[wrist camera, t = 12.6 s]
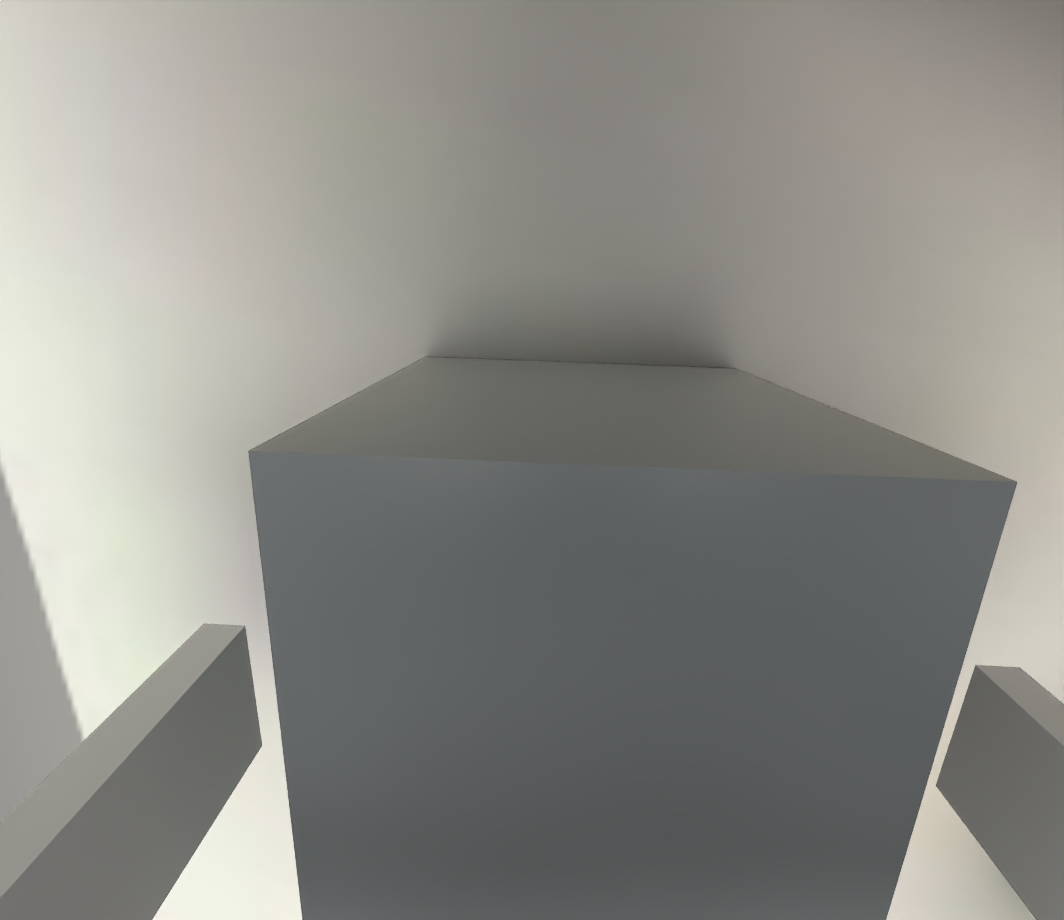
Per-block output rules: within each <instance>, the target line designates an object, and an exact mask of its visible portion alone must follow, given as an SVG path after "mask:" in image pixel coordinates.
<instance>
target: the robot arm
mask: <svg viewBox="0 0 1064 920" xmlns="http://www.w3.org/2000/svg"><path fill="white" fill-rule="evenodd" d="M261 746H262V741H261V734H260V727H259V720H258V713H257V706H256V699H255V692H254V685H253V678H252V671H251V664H250V657H249V650H248V643H247V636H246V629H245V626H238V625H220V624H203V625H202V626H201V627H200V628H199V629H198V630H197V631H196V632H195V633H194V634H193V635H192V636H191V637H190V638H189V639H188V640H187V641H186V642H185V643H184V644H183V645H182V646H181V647H180V648H178V649H177V650H176V651H175V652H174V653H173V654H172V655H171V656H170V657H169V658H168V659H167V660H166V661H165V662H164V663H163V664H162V665H161V666H160V667H159V668H158V669H157V670H156V671H155V672H154V673H153V674H152V675H151V676H150V677H149V678H148V679H147V680H146V681H145V682H144V683H143V684H142V685H141V686H140V687H139V688H138V689H136V690H135V691H134V692H133V693H132V694H131V695H130V696H129V697H128V698H127V699H126V700H125V701H124V702H123V703H122V704H121V705H120V706H119V707H118V708H117V709H116V710H115V711H114V712H113V713H112V714H111V715H110V716H109V717H108V718H107V719H106V720H105V721H104V722H103V723H102V724H101V725H100V726H99V727H98V728H97V729H95V730H94V731H93V732H92V733H91V734H90V735H89V736H88V737H87V738H86V739H85V740H84V741H83V742H82V743H81V744H80V745H79V746H78V747H77V748H76V749H75V750H74V751H73V752H72V753H71V754H70V755H69V756H68V757H67V758H66V759H65V760H64V761H63V762H62V763H61V764H60V765H59V766H58V767H57V768H56V769H55V770H53V771H52V772H51V773H50V774H49V776H47V777H46V778H45V779H44V780H43V781H42V782H41V783H40V784H39V785H38V786H37V787H36V788H35V789H34V790H33V791H32V792H31V793H30V794H29V795H28V796H27V797H26V798H25V799H24V800H23V801H22V802H21V803H20V804H19V805H18V806H17V807H16V808H15V809H13V811H11V812H10V813H9V814H8V815H7V816H6V817H5V818H4V819H3V820H2V821H1V822H0V920H152V919H153V917H154V916H155V914H156V913H157V911H158V909H159V908H160V906H161V905H162V903H163V902H164V900H165V898H166V897H167V895H168V894H169V892H170V890H171V889H172V887H173V886H174V884H175V883H176V881H177V879H178V878H179V876H180V875H181V873H182V871H183V870H184V868H185V867H186V865H187V864H188V862H189V860H190V859H191V857H192V856H193V854H194V852H195V851H196V849H197V848H198V846H199V845H200V843H201V841H202V840H203V838H204V837H205V835H206V833H207V832H208V830H209V829H210V827H211V826H212V824H213V822H214V821H215V819H216V818H217V816H218V814H219V813H220V811H221V810H222V808H223V807H224V805H225V803H226V802H227V800H228V799H229V797H230V795H231V794H232V792H233V791H234V789H235V788H236V786H237V784H238V783H239V781H240V780H241V778H242V776H243V775H244V773H245V772H246V770H247V769H248V767H249V765H250V764H251V762H252V761H253V759H254V757H255V756H256V754H257V753H258V751H259V750H260V748H261ZM936 787H937V788H938V789H939V791H940V792H941V793H942V795H943V796H944V797H945V799H946V800H947V801H948V803H949V804H950V805H951V807H952V808H953V809H954V811H955V812H956V813H957V815H958V816H959V817H960V818H961V820H962V821H963V822H964V824H965V825H966V826H967V828H968V829H969V830H970V832H971V833H972V834H973V836H974V837H975V838H976V840H977V841H978V842H979V844H980V845H981V846H982V848H983V849H984V850H985V852H986V853H987V854H988V856H989V857H990V858H991V860H992V861H993V862H994V864H995V865H996V866H997V868H998V869H999V870H1000V872H1001V873H1002V874H1003V876H1004V877H1005V878H1006V880H1007V881H1008V882H1009V884H1010V885H1011V886H1012V888H1013V889H1014V890H1015V892H1016V893H1017V894H1018V896H1019V897H1020V898H1021V900H1022V901H1023V902H1024V904H1025V905H1026V906H1027V908H1028V909H1029V910H1030V912H1031V913H1032V914H1033V916H1034V917H1035V918H1036V920H1064V704H1063V703H1062V702H1061V701H1059V700H1058V699H1057V698H1056V697H1055V696H1053V695H1052V694H1051V693H1050V692H1049V691H1047V690H1046V689H1045V688H1044V687H1043V686H1041V685H1040V684H1039V683H1038V682H1037V681H1035V680H1034V679H1033V678H1032V677H1031V676H1029V675H1028V674H1027V673H1026V672H1025V671H1023V670H1022V669H1021V668H1020V667H1002V666H983V665H975V668H974V671H973V674H972V677H971V680H970V683H969V686H968V689H967V692H966V695H965V699H964V702H963V705H962V708H961V711H960V714H959V717H958V720H957V723H956V726H955V729H954V732H953V735H952V738H951V741H950V744H949V747H948V750H947V753H946V756H945V759H944V762H943V765H942V768H941V771H940V774H939V777H938V780H937V784H936Z"/></svg>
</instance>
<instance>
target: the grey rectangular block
mask: <svg viewBox="0 0 1064 920" xmlns="http://www.w3.org/2000/svg"><path fill="white" fill-rule="evenodd" d="M248 452H249V460H250V469H251V478H252V486H253V495H254V504H255V512H256V521H257V530H258V538H259V547H260V556H261V564H262V573H263V582H264V590H265V599H266V608H267V616H268V625H269V633H270V642H271V651H272V659H273V668H274V677H275V685H276V694H277V703H278V711H279V720H280V729H281V737H282V746H283V755H284V763H285V772H286V781H287V789H288V798H289V807H290V815H291V824H292V833H293V841H294V850H295V858H296V867H297V876H298V884H299V893H300V902H301V910H302V919H303V920H886V918H887V915H888V911H889V908H890V905H891V901H892V898H893V895H894V891H895V888H896V885H897V881H898V878H899V875H900V871H901V868H902V865H903V861H904V858H905V855H906V851H907V848H908V845H909V841H910V838H911V835H912V831H913V828H914V825H915V821H916V818H917V815H918V811H919V808H920V805H921V801H922V798H923V795H924V791H925V788H926V785H927V781H928V778H929V775H930V771H931V768H932V764H933V761H934V758H935V754H936V751H937V748H938V744H939V741H940V738H941V734H942V731H943V728H944V724H945V721H946V718H947V714H948V711H949V708H950V704H951V701H952V698H953V694H954V691H955V688H956V684H957V681H958V678H959V674H960V671H961V668H962V664H963V661H964V658H965V654H966V651H967V648H968V644H969V641H970V638H971V634H972V631H973V628H974V624H975V621H976V618H977V614H978V611H979V608H980V604H981V601H982V598H983V594H984V591H985V588H986V584H987V581H988V578H989V574H990V571H991V568H992V564H993V561H994V558H995V554H996V551H997V548H998V544H999V541H1000V538H1001V534H1002V531H1003V528H1004V524H1005V521H1006V518H1007V514H1008V511H1009V508H1010V504H1011V501H1012V498H1013V494H1014V491H1015V488H1016V484H1017V482H1016V481H1014V480H1011V479H1009V478H1006V477H1004V476H1001V475H999V474H996V473H994V472H991V471H989V470H986V469H984V468H981V467H979V466H976V465H974V464H971V463H969V462H967V461H964V460H962V459H959V458H957V457H954V456H952V455H949V454H947V453H944V452H942V451H939V450H937V449H934V448H932V447H929V446H927V445H924V444H922V443H919V442H917V441H914V440H912V439H909V438H907V437H905V436H902V435H900V434H897V433H895V432H892V431H890V430H887V429H885V428H882V427H880V426H877V425H875V424H872V423H870V422H867V421H865V420H862V419H860V418H857V417H855V416H852V415H850V414H847V413H845V412H843V411H840V410H838V409H835V408H833V407H830V406H828V405H825V404H823V403H820V402H818V401H815V400H813V399H810V398H808V397H805V396H803V395H800V394H798V393H795V392H793V391H790V390H788V389H785V388H783V387H781V386H778V385H776V384H773V383H771V382H768V381H766V380H763V379H761V378H758V377H756V376H753V375H751V374H748V373H746V372H743V371H741V370H738V369H736V368H713V367H686V366H660V365H633V364H607V363H580V362H554V361H527V360H501V359H474V358H448V357H424V358H422V359H420V360H418V361H416V362H414V363H413V364H411V365H409V366H407V367H405V368H403V369H401V370H399V371H398V372H396V373H394V374H392V375H390V376H388V377H386V378H384V379H383V380H381V381H379V382H377V383H375V384H373V385H371V386H369V387H368V388H366V389H364V390H362V391H360V392H358V393H356V394H354V395H353V396H351V397H349V398H347V399H345V400H343V401H341V402H339V403H338V404H336V405H334V406H332V407H330V408H328V409H326V410H324V411H323V412H321V413H319V414H317V415H315V416H313V417H311V418H309V419H308V420H306V421H304V422H302V423H300V424H298V425H296V426H294V427H293V428H291V429H289V430H287V431H285V432H283V433H281V434H279V435H277V436H276V437H274V438H272V439H270V440H268V441H266V442H264V443H262V444H261V445H259V446H257V447H255V448H253V449H251V450H249V451H248Z"/></svg>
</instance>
